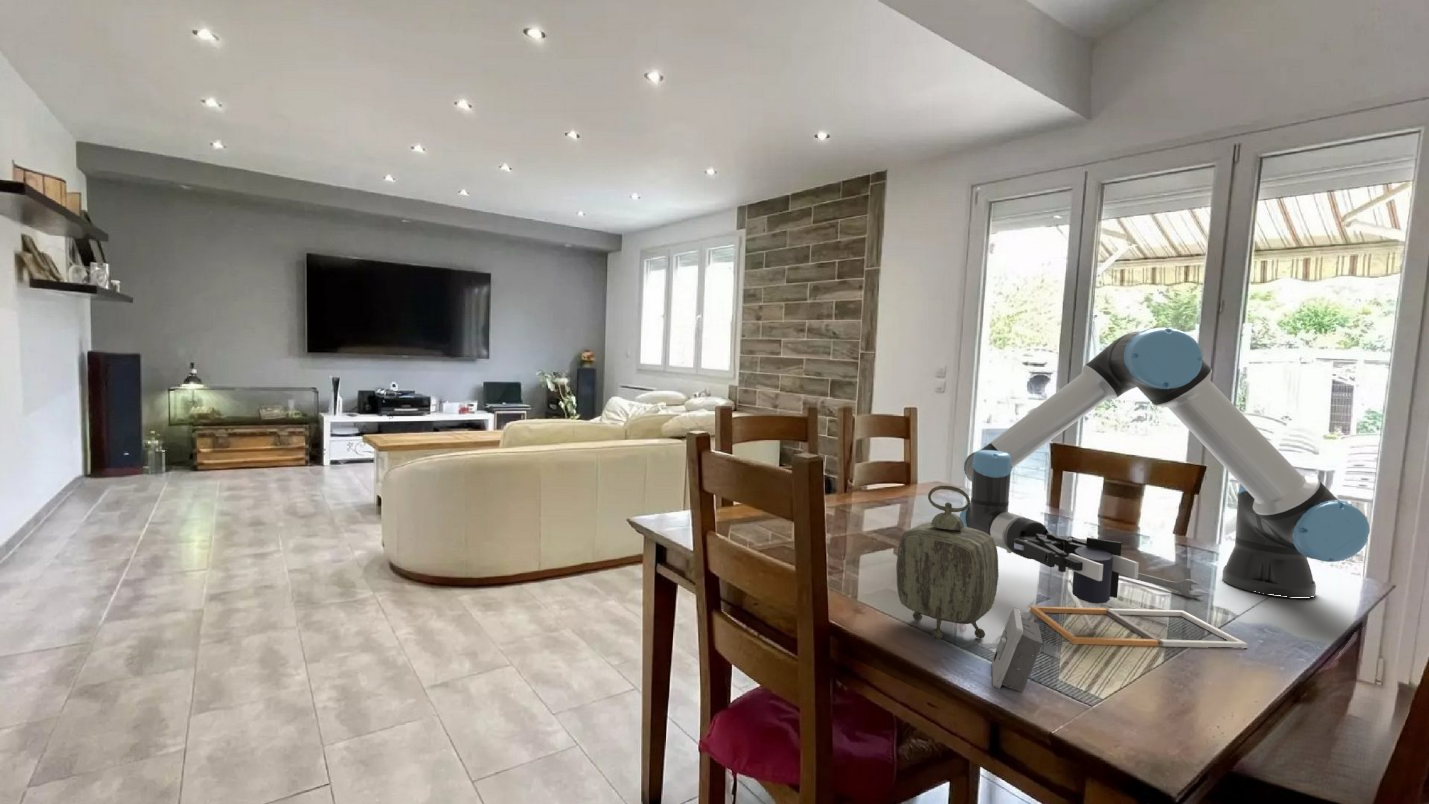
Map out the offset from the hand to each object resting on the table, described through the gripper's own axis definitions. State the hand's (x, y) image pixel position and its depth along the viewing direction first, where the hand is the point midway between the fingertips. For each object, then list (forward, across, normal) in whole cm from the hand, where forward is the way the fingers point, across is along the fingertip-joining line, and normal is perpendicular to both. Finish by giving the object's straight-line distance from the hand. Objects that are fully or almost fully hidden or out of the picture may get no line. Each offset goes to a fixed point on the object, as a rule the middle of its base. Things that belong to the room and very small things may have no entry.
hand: (1118, 571), depth 108 cm
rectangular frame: (-3, -7, -11) cm, 14 cm away
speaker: (-5, -1, -7) cm, 8 cm away
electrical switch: (+9, +27, -12) cm, 31 cm away
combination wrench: (-21, -31, -12) cm, 40 cm away
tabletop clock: (-7, +28, -12) cm, 31 cm away
